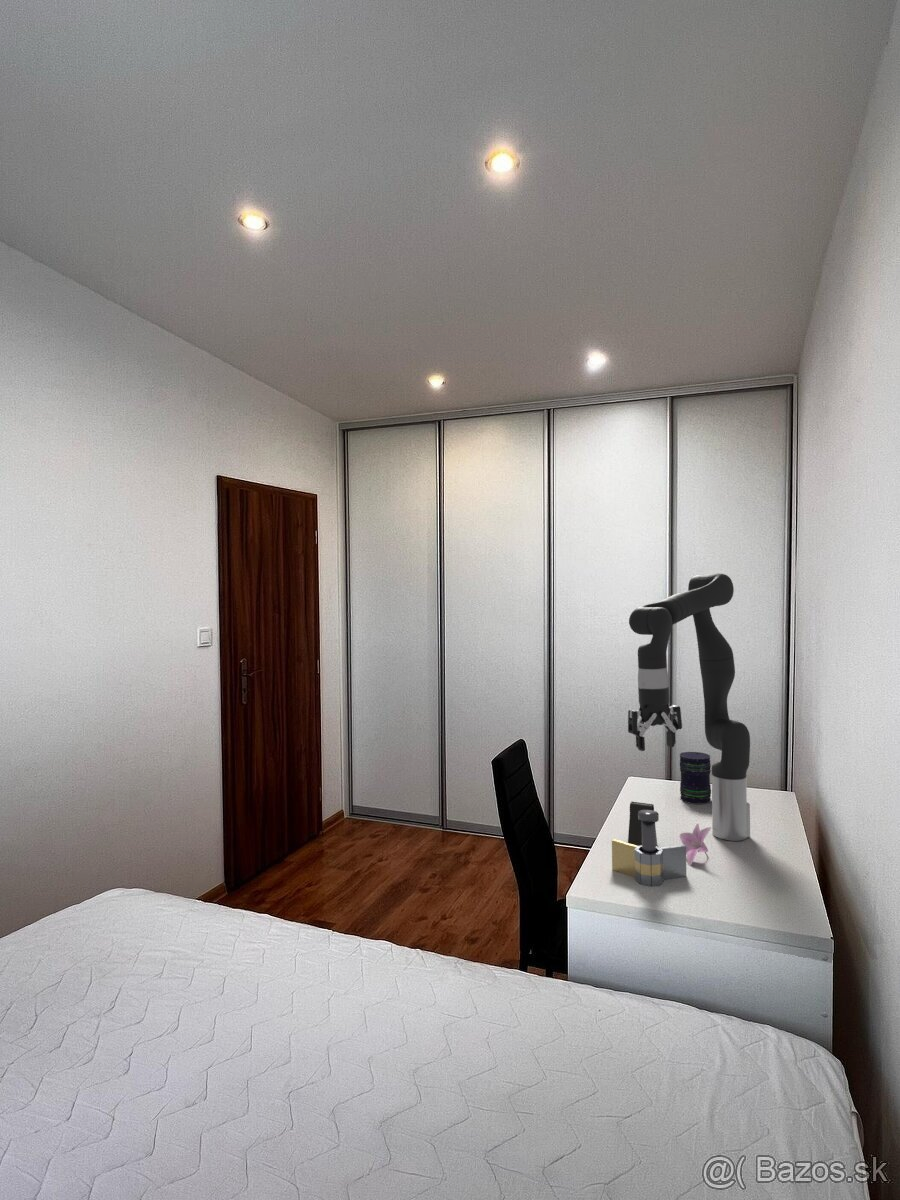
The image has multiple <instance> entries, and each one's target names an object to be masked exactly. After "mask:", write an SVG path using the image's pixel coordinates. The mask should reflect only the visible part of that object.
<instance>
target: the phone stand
mask: <svg viewBox="0 0 900 1200" xmlns="http://www.w3.org/2000/svg"><path fill="white" fill-rule="evenodd" d="M640 810H653V811H655V806H654V804H652V803H645V802H638V801H631V802H630V803H629V821H628V833H627V843H629V844H633V845H636V846H640V845H642V821H640V820H639V819H638V811H640ZM656 828H657V827H655V836H656V845H657V844H658V839H657V830H656Z"/></svg>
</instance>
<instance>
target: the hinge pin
mask: <svg viewBox="0 0 900 1200" xmlns="http://www.w3.org/2000/svg"><path fill="white" fill-rule="evenodd" d="M638 819H639V820H640V821H642V852H643V853H649V854H652V853H656V846H657V844H656V837H657V835H656V836H655V828H656V823H657V822H658V821H659V819H660V817H659V811H655V810H654V811H653V810H640V811H638Z"/></svg>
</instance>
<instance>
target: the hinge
mask: <svg viewBox="0 0 900 1200" xmlns="http://www.w3.org/2000/svg"><path fill="white" fill-rule="evenodd" d="M611 868H612V871H616V872H619V873H622V874H624V875H626V876H627V875H628V876H631V877H634V880H635V881H636V882H637V883H638V884H640V885H642V886H648V887H657V886H662V884H663V882H664V880H669V879H676V878H677V879H678V878H683V877H687V855H686V846H685V845H684V844H678V845H670V846H669V845H668V846H662V847H658V846H657V845H656V853H652V854H649V853H643V852H642V845H640V846H636V845H633V844H629V843H628V842H625V841H622V840H618V839H615V838H614V839H612V840H611Z"/></svg>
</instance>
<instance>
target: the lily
mask: <svg viewBox="0 0 900 1200" xmlns="http://www.w3.org/2000/svg"><path fill="white" fill-rule="evenodd" d="M711 829H712V827H705V828H702V829H701V828H700V824H699V823H696V825H695V826H694V828H693V830H692V833H691V832H681V833H679V839H680V841H681V843H682V845H685V846H686V862H687V864H688V866H690V867H691V866H692V864H693V862H694V860H695V857H696V856H697V854H698V853H705V856H706V857H707V859H709V858H710V857H709V856H708V854H707V853H708V852H709V849H708V847H707V845H706V844H705V842H704V841H705V839H706V837H707V836H708V834H709V833H710V831H711Z"/></svg>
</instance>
